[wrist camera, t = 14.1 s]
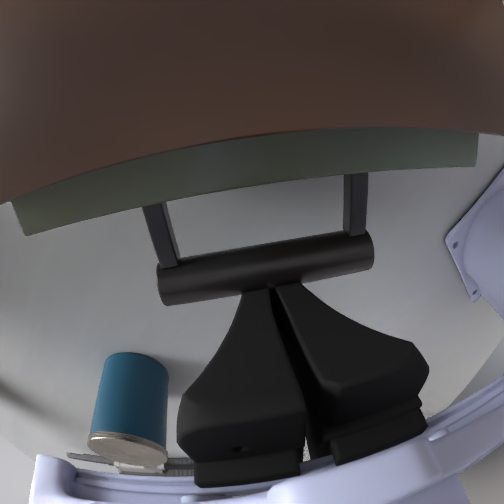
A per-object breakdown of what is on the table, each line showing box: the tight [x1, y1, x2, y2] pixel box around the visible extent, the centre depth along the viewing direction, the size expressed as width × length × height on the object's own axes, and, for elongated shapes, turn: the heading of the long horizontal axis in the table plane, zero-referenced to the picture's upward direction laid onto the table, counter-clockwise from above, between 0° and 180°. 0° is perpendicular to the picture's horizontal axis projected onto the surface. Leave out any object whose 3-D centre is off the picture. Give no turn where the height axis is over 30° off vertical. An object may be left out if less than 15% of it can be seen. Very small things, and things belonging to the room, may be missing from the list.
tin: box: [87, 353, 169, 466], centre depth 16 cm, size 5×5×6 cm
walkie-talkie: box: [67, 453, 194, 477], centre depth 27 cm, size 9×4×20 cm
